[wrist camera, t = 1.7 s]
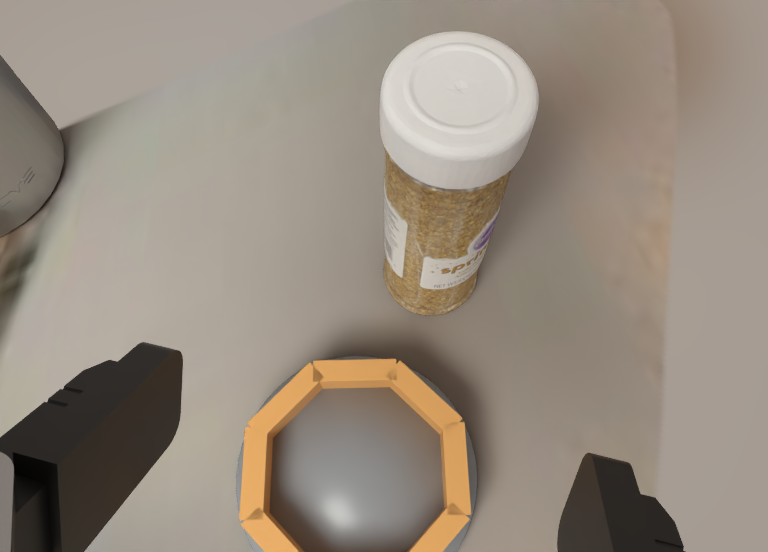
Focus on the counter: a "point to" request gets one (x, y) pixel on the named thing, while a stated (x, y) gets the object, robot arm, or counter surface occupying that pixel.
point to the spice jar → (448, 160)
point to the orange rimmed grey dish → (356, 463)
